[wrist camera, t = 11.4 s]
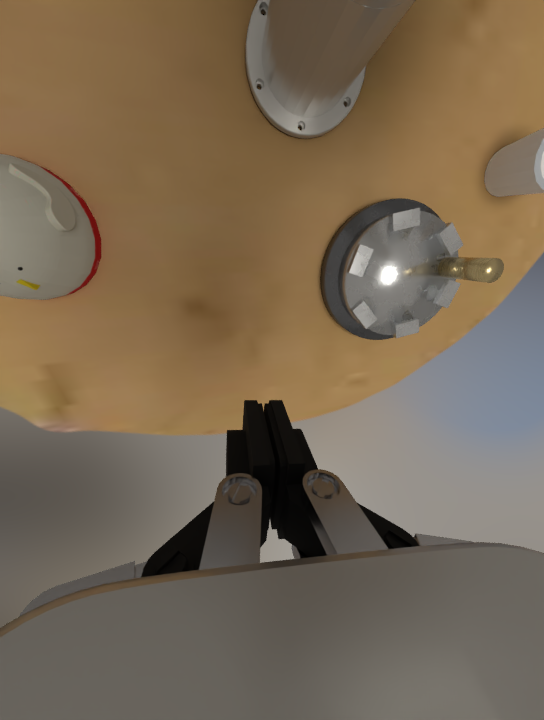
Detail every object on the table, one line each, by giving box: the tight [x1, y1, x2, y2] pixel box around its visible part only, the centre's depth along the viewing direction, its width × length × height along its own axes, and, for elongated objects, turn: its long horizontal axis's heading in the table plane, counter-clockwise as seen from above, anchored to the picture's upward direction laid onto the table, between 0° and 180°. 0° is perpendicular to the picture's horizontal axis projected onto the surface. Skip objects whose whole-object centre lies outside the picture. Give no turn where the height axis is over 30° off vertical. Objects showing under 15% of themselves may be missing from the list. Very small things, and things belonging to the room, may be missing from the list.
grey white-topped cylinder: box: [484, 128, 544, 197], centre depth 33 cm, size 7×7×7 cm
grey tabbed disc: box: [338, 208, 504, 338], centre depth 32 cm, size 15×15×9 cm
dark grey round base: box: [320, 199, 439, 340], centre depth 37 cm, size 18×18×2 cm
